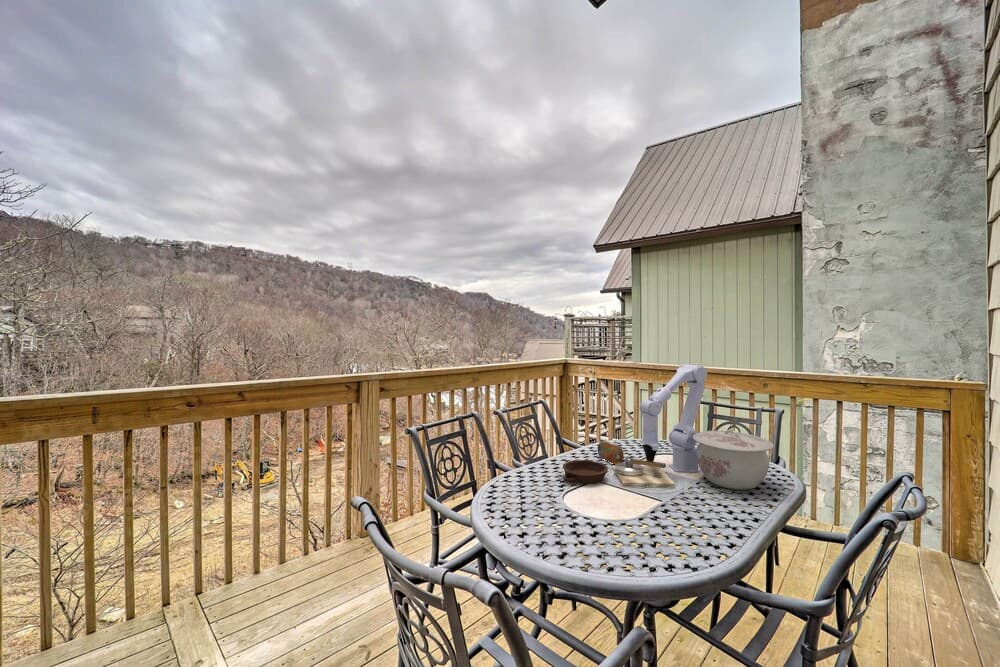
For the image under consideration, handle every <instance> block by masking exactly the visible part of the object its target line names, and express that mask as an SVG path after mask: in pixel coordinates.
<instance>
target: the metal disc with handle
mask: <svg viewBox="0 0 1000 667" xmlns="http://www.w3.org/2000/svg"><path fill="white" fill-rule="evenodd" d="M614 466H615V471H616V472H617V473H619V474H622V475H627V476H639V475H642V474H643V466H652V467H659V468H661V469H666V467H667V464H666V463H665V462H660V461H659V462H658V461H654V462H652V461H647V460H646V459H637V458H632V457H625V459H624V461H623V462H621V463H617V464H615V465H614Z"/></svg>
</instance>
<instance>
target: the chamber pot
mask: <svg viewBox="0 0 1000 667" xmlns="http://www.w3.org/2000/svg"><path fill="white" fill-rule="evenodd" d="M693 439H694V440H695V441H696V443H698V445H697V447H696V450H697V460H698V469H700V472H702V474H703V476H704V478H706V480H707V481H709V482H710V483H712V484H713V485H716V486H718V487H720V488H723V489H728V488H729V490H734V489H735V490H736V491H744V490H752V489H755V488H757V487H758V486H760V484H761V483H763V481H764V479H765V478H766V476H767V475H768V471H769V469H770V457H769V455H768V453H767V451H771V450H773V449H774V447H775V444H774V443H773V442H772V441H769V440H768V439H766V438H763V437H761V436H758V435H754V434H750V433H745V432H740V431H735V430H733V429H726V430H705V431H700V432H696V434H694V435H693Z"/></svg>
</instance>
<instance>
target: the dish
mask: <svg viewBox="0 0 1000 667" xmlns="http://www.w3.org/2000/svg"><path fill="white" fill-rule="evenodd" d="M562 469H563V470H564V473H565V475H564V476H563V481H564V483H567V484H578V483H580V485H595V484H598V483H601V482H603V481H604V478H606V477H605V476H606V474H607V472H608V470H609V468H608V466H607V465H606V464H604V463H602V462H597V461H593V460H586V459H574V460H569V461H567V462H564V464H562Z"/></svg>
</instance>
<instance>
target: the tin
mask: <svg viewBox="0 0 1000 667" xmlns="http://www.w3.org/2000/svg"><path fill="white" fill-rule="evenodd" d="M597 454H598V457H599V458H600V459H601V458H602V459H605V460H607V461H609V462H611V463H613V464H617V463H621V462H624V456H625V454H624V449H623V448H622V446H620V445H618V444H615V443H612V442H610V441H608V440H607V441H603V440H602V441H600V442H599V443H598V445H597ZM602 459H601V460H602ZM611 463H610V464H611ZM613 464H612V465H613Z"/></svg>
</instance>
